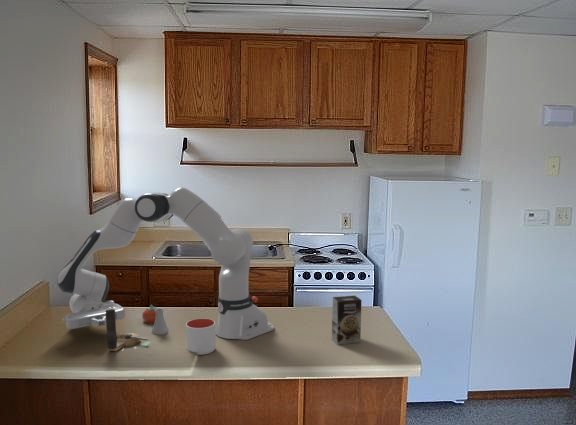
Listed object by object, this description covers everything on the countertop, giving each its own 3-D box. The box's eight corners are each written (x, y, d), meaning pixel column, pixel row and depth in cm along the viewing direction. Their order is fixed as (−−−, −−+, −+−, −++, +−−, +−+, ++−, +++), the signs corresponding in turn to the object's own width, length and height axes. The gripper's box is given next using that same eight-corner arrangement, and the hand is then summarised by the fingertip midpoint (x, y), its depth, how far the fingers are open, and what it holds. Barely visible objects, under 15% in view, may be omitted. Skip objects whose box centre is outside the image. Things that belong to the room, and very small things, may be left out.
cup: (185, 346, 188) (184, 319, 187) (213, 343, 191) (212, 317, 190) (188, 358, 179) (187, 329, 177) (218, 354, 182) (217, 326, 180)
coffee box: (337, 345, 189) (338, 301, 187) (331, 338, 196) (331, 296, 193) (361, 342, 192) (362, 299, 190) (354, 336, 198) (355, 294, 196)
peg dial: (126, 336, 194) (124, 298, 192) (154, 340, 190) (152, 301, 188) (99, 351, 181) (97, 310, 178) (129, 356, 177) (127, 314, 174)
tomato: (159, 327, 207) (158, 307, 206) (140, 327, 207) (139, 307, 206) (163, 320, 214) (163, 301, 213) (145, 320, 214) (144, 301, 213)
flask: (164, 339, 195) (163, 313, 193) (146, 338, 196) (145, 312, 195) (173, 332, 202) (172, 307, 200) (155, 331, 203) (154, 306, 202)
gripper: (60, 309, 190) (70, 320, 178) (117, 299, 201) (129, 309, 190) (61, 326, 190) (71, 338, 179) (117, 315, 202) (130, 326, 191)
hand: (102, 323), depth 185 cm, fingers closed
